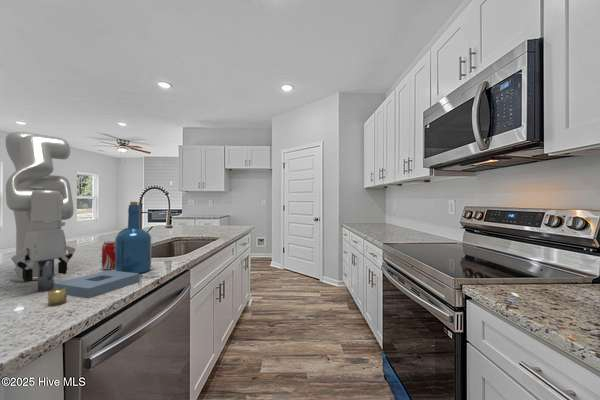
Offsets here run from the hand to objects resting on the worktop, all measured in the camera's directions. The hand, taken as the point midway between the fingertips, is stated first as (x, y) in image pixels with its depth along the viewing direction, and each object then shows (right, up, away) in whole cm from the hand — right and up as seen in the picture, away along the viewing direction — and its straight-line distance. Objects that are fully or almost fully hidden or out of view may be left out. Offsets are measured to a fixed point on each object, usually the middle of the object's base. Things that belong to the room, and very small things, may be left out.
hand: (46, 277), depth 90 cm
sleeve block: (+16, -4, +3) cm, 17 cm away
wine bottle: (+15, -5, +24) cm, 28 cm away
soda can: (+2, -5, +29) cm, 29 cm away
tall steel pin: (0, -4, 0) cm, 4 cm away
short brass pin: (+15, -4, -12) cm, 20 cm away
